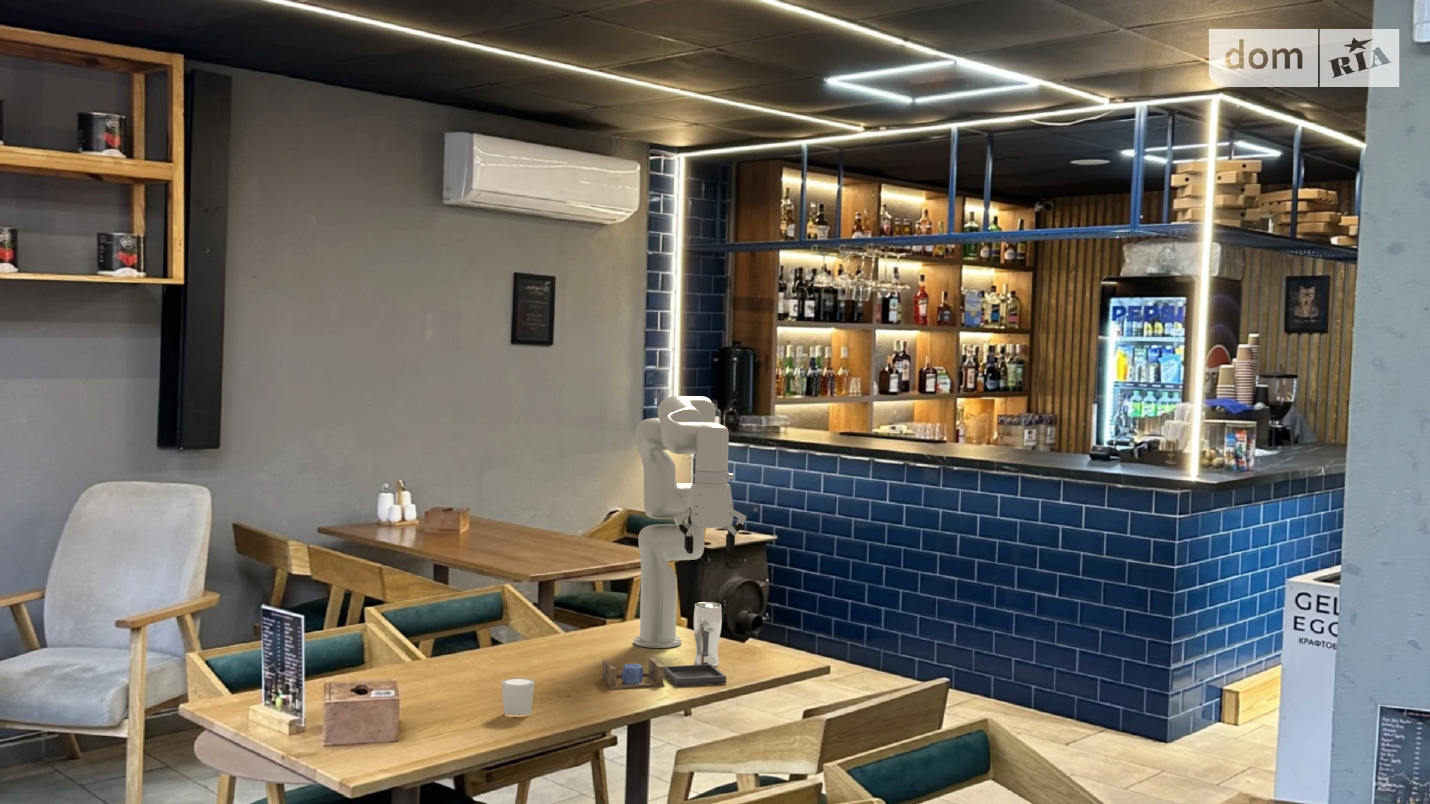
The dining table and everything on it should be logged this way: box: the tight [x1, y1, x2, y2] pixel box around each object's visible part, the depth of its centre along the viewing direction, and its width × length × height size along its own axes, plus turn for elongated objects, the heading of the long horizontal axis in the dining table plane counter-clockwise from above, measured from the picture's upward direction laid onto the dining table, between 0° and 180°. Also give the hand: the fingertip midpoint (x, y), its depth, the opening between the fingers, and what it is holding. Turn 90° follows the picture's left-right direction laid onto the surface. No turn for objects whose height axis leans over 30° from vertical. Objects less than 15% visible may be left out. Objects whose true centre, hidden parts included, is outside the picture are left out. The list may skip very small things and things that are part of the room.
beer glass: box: [693, 601, 723, 667], centre depth 321 cm, size 7×7×15 cm
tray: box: [663, 664, 727, 687], centre depth 307 cm, size 12×12×2 cm
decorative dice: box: [621, 663, 644, 685], centre depth 303 cm, size 4×4×4 cm
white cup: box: [501, 677, 535, 716], centre depth 274 cm, size 7×7×7 cm
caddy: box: [601, 657, 665, 690], centre depth 303 cm, size 11×12×4 cm
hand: (709, 552), depth 300 cm, fingers open, 9 cm apart
